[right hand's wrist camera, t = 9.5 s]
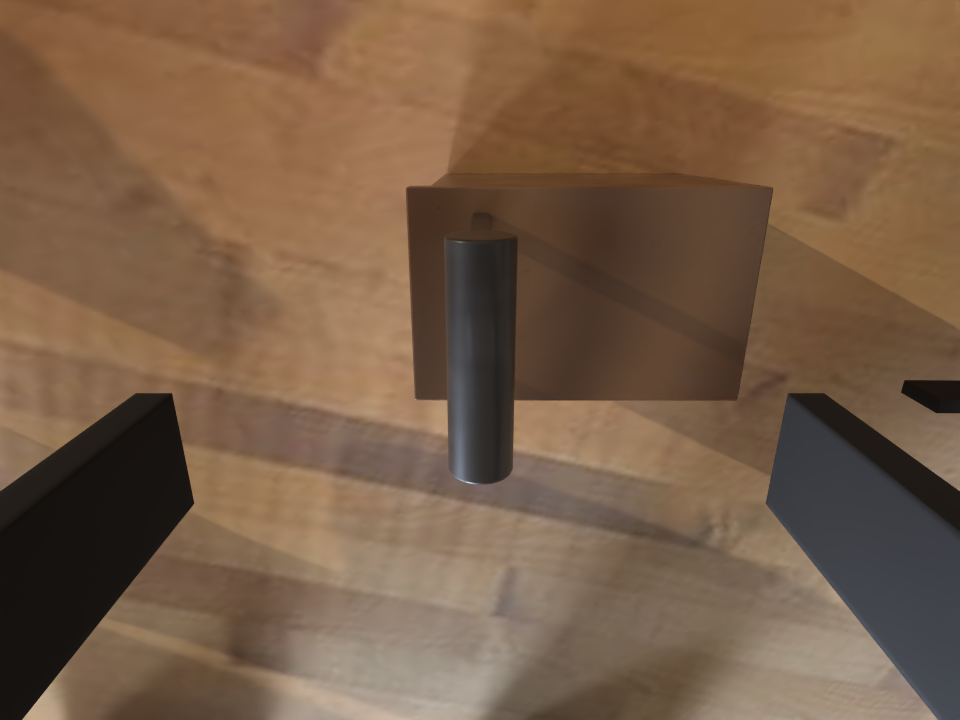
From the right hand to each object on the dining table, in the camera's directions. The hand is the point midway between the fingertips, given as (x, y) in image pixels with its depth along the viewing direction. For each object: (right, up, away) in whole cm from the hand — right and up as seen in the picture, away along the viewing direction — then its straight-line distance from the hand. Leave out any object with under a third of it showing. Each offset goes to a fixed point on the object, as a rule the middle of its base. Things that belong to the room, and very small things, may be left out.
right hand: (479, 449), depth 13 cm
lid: (+4, +5, +13) cm, 14 cm away
